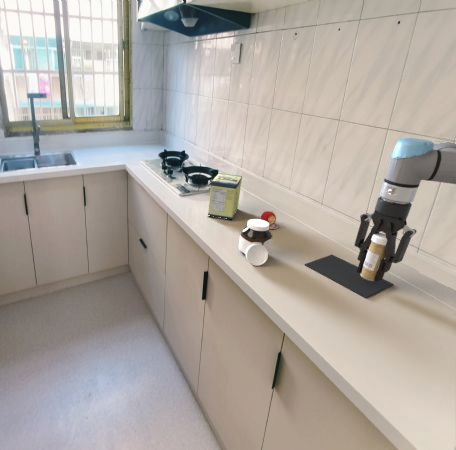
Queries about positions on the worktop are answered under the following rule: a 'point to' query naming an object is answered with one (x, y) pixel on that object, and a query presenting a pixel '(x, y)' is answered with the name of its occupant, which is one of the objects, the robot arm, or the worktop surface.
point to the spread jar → (256, 241)
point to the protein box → (224, 195)
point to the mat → (347, 276)
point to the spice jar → (374, 256)
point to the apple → (269, 219)
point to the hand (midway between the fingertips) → (369, 275)
